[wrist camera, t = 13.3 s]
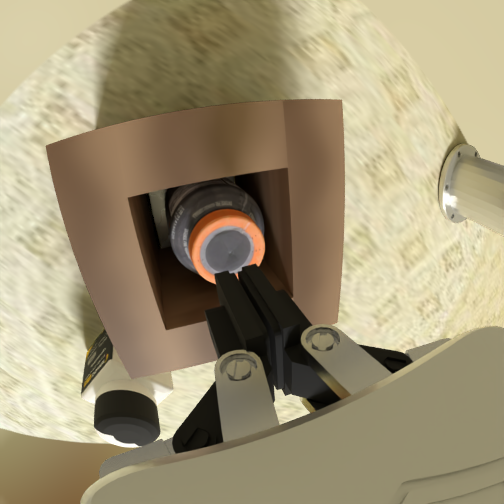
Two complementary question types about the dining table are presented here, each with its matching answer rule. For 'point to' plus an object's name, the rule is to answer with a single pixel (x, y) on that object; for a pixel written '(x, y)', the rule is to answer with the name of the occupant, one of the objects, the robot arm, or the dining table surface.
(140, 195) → the wooden box holder
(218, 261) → the pill bottle
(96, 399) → the medicine bottle
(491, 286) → the dining table surface
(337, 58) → the dining table surface
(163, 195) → the plate
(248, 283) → the robot arm
